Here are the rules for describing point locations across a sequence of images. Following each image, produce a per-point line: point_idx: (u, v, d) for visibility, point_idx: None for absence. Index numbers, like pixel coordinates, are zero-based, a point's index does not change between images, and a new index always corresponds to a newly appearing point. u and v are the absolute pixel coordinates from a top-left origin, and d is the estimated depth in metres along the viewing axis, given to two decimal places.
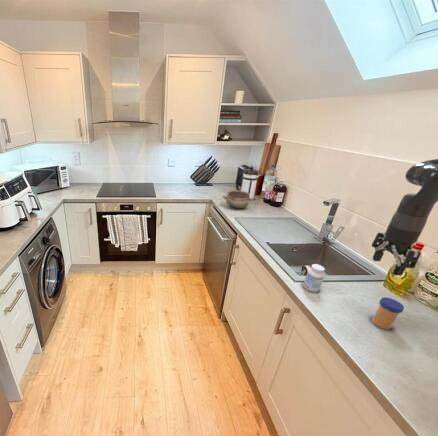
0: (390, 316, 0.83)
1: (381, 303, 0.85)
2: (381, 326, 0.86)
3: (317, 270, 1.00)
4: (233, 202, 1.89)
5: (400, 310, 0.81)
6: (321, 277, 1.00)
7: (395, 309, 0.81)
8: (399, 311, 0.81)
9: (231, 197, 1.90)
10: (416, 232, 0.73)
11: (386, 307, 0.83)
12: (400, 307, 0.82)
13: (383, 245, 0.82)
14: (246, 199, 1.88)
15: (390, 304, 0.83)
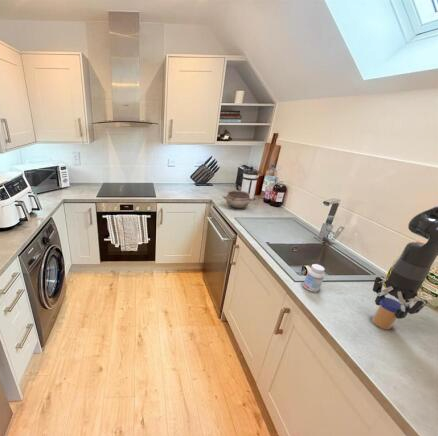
0: (390, 316, 0.83)
1: (381, 303, 0.85)
2: (381, 326, 0.86)
3: (317, 270, 1.00)
4: (233, 202, 1.89)
5: None
6: (321, 277, 1.00)
7: (395, 309, 0.81)
8: None
9: (231, 197, 1.90)
10: (422, 280, 0.75)
11: (386, 307, 0.83)
12: (400, 307, 0.82)
13: (387, 290, 0.83)
14: (246, 199, 1.88)
15: (390, 304, 0.83)
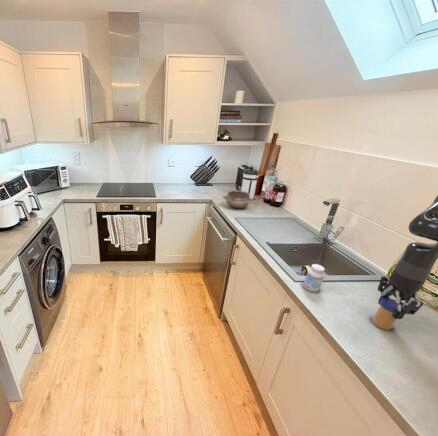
0: (391, 317, 0.83)
1: None
2: (382, 327, 0.85)
3: (317, 270, 1.00)
4: (233, 202, 1.89)
5: None
6: (321, 277, 1.00)
7: None
8: None
9: (231, 197, 1.90)
10: None
11: None
12: (386, 299, 0.85)
13: None
14: (246, 199, 1.88)
15: (396, 303, 0.83)
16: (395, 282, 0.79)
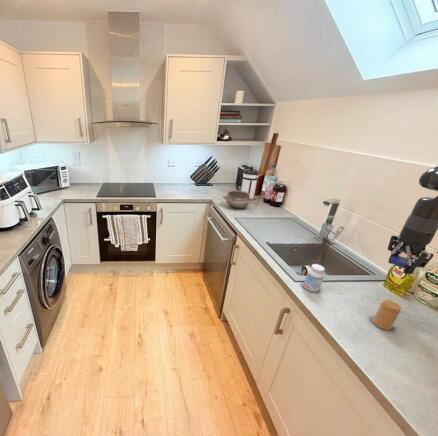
0: (391, 317, 0.83)
1: None
2: (382, 327, 0.85)
3: (317, 270, 1.00)
4: (233, 202, 1.89)
5: None
6: (321, 277, 1.00)
7: None
8: None
9: (231, 197, 1.90)
10: None
11: None
12: (396, 256, 0.88)
13: None
14: (246, 199, 1.88)
15: (406, 259, 0.86)
16: (405, 237, 0.82)
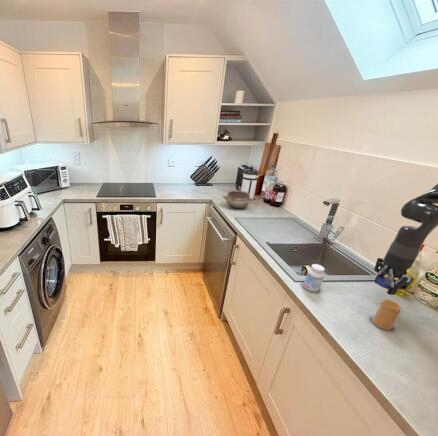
0: (391, 317, 0.83)
1: None
2: (382, 327, 0.85)
3: (317, 270, 1.00)
4: (233, 202, 1.89)
5: None
6: (321, 277, 1.00)
7: None
8: None
9: (231, 197, 1.90)
10: None
11: None
12: (381, 277, 0.96)
13: None
14: (246, 199, 1.88)
15: (390, 281, 0.94)
16: (389, 261, 0.89)
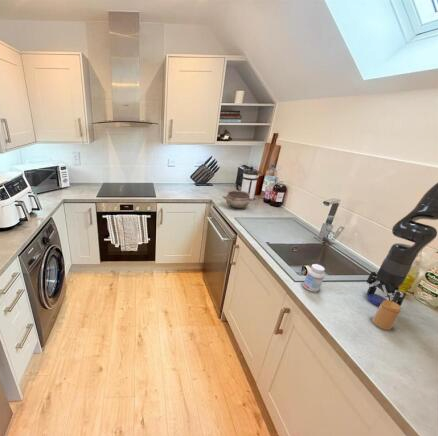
0: (391, 317, 0.83)
1: None
2: (382, 327, 0.85)
3: (317, 270, 1.00)
4: (233, 202, 1.89)
5: None
6: (321, 277, 1.00)
7: None
8: None
9: (231, 197, 1.90)
10: None
11: None
12: (373, 294, 0.99)
13: None
14: (246, 199, 1.88)
15: (381, 298, 0.97)
16: (381, 277, 0.92)
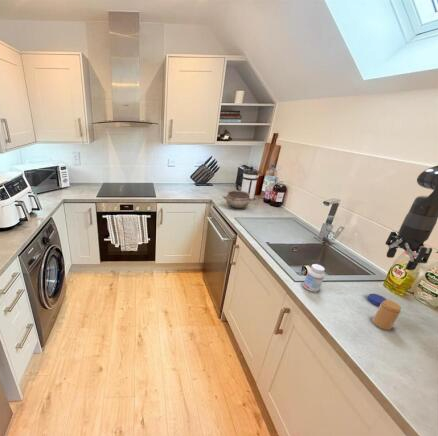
0: (391, 317, 0.83)
1: None
2: (382, 327, 0.85)
3: (317, 270, 1.00)
4: (233, 202, 1.89)
5: None
6: (321, 277, 1.00)
7: None
8: None
9: (231, 197, 1.90)
10: None
11: None
12: (373, 294, 0.99)
13: None
14: (246, 199, 1.88)
15: (381, 298, 0.97)
16: (404, 234, 0.85)
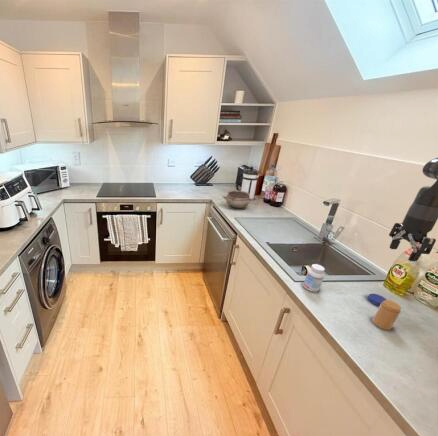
0: (391, 317, 0.83)
1: None
2: (382, 327, 0.85)
3: (317, 270, 1.00)
4: (233, 202, 1.89)
5: None
6: (321, 277, 1.00)
7: None
8: None
9: (231, 197, 1.90)
10: None
11: None
12: (373, 294, 0.99)
13: None
14: (246, 199, 1.88)
15: (381, 298, 0.97)
16: (408, 225, 0.85)
